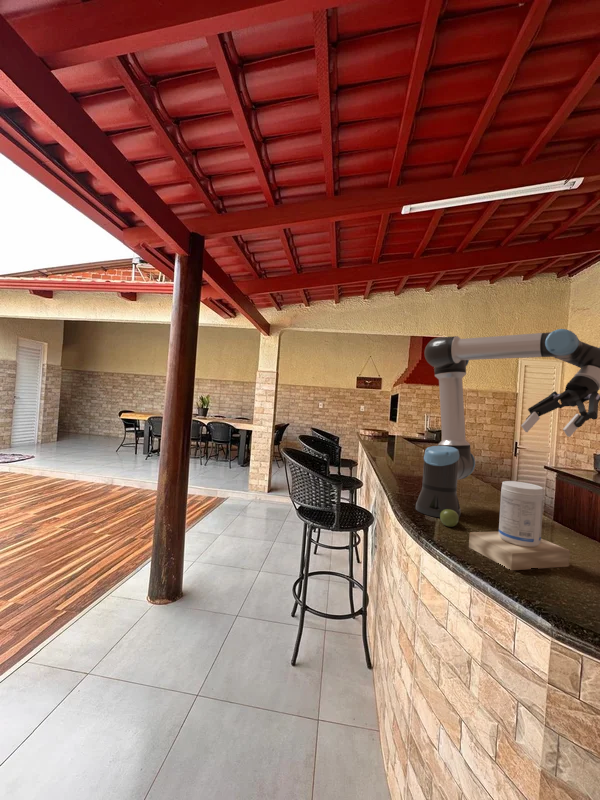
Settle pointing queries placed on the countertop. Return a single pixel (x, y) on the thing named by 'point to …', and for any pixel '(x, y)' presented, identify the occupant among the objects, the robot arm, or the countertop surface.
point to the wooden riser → (518, 552)
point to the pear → (449, 517)
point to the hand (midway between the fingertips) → (543, 430)
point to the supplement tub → (521, 513)
